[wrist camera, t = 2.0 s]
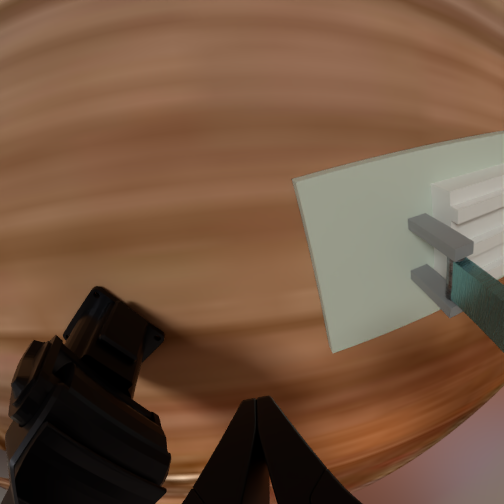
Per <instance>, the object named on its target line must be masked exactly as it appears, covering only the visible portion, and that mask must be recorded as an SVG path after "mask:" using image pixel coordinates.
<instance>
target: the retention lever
mask: <svg viewBox="0 0 504 504" xmlns="http://www.w3.org/2000/svg"><path fill="white" fill-rule="evenodd" d="M445 297H446V298H447V299H448V300H450V301H453V302H454V303H455V304H456V305H457V306H458V307H459V308H460V309H461V310H462V311H463V312H464V313H465V314H467V315H468V316H469V317H470V318H471V319H472V320H473V321H474V322H475V323H476V324H477V325H478V326H479V327H480V328H481V329H482V330H483V331H484V333H485V334H486V335H487V336H488V337H489V338H490V339H491V340H492V341H493V342H494V343H495V344H496V345H497V346H498V347H499V348H500V349H501V350H502V351H503V353H504V285H503V284H502V283H500V282H499V281H498V280H496V279H495V278H494V277H492V276H491V275H490V274H488V273H487V272H486V271H484V270H483V269H482V268H480V267H479V266H478V265H476V264H475V263H474V262H472V261H471V260H469V259H468V258H467V257H465V258H463V259H460V260H458V261H456V262H454V261H452V260H451V259H450V258H448V257H447V273H446V291H445Z"/></svg>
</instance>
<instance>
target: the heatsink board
mask: <svg viewBox="0 0 504 504" xmlns="http://www.w3.org/2000/svg"><path fill="white" fill-rule="evenodd" d="M292 182H293V186H294V189H295V193H296V197H297V201H298V205H299V209H300V213H301V217H302V221H303V226H304V230H305V234H306V238H307V242H308V247H309V251H310V255H311V260H312V264H313V269H314V273H315V278H316V283H317V287H318V292H319V297H320V302H321V306H322V311H323V316H324V321H325V327H326V332H327V337H328V342H329V346H330V349H331V351H332V353H335V352H338V351H341V350H344V349H347V348H349V347H352V346H355V345H357V344H360V343H363V342H365V341H368V340H371V339H373V338H376V337H378V336H381V335H383V334H386V333H388V332H391V331H393V330H395V329H398V328H400V327H403V326H405V325H407V324H410V323H412V322H414V321H416V320H419V319H421V318H423V317H425V316H428V315H430V314H432V313H434V312H436V311H438V310H440V309H441V310H442V311H443V312H444V313H445V314H446V315H447V316H448V317H449V318H451V317H453V316H455V315H457V314H459V313H461V312H463V311H462V310H461V309H460V308H459V307H458V306H457V305H456V304H455V303H454V302H453V301H450V300H448V299H447V298H446V297H445V291H446V273H447V257H448V258H450V259H451V260H452V261H454V262H456V261H458V260H460V259H463V258H465V257H467V258H468V259H469V260H471V261H472V262H474V263H475V264H476V265H478V266H479V267H480V268H482V269H483V270H484V271H486V272H487V273H488V274H490V275H491V276H492V277H494V278H495V279H496V280H498V279H500V278H502V277H504V131H499V132H493V133H487V134H481V135H476V136H470V137H465V138H460V139H455V140H450V141H445V142H440V143H435V144H430V145H426V146H421V147H416V148H412V149H407V150H403V151H399V152H394V153H390V154H386V155H382V156H377V157H373V158H369V159H365V160H361V161H357V162H353V163H349V164H345V165H342V166H338V167H334V168H330V169H327V170H323V171H319V172H315V173H312V174H308V175H305V176H301V177H298V178H294V179H292Z"/></svg>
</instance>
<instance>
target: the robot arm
mask: <svg viewBox="0 0 504 504" xmlns="http://www.w3.org/2000/svg"><path fill="white" fill-rule="evenodd" d="M95 292H97V293H99V295H97V294H96V293H95ZM68 335H69V336H68ZM156 336H160V337H156ZM63 337H64V339H65V340H66V343H65V345H64V344H63V343H62V342H63V341H62V340H61V339H60V338H59V337H58V336H57V335H55V336H54V337H53V338H52V339H51V340H50V341H47V342H46V343H45V342H40V341H36V340H34V341H33V342H32V343H31V344H30V345H29V347H28V348H27V350H26V352H25V353H24V355H23V356H22V358H21V360H20V362H19V364H18V366H17V369H16V371H15V374H14V377H13V380H12V383H11V387H12V392H11V398H10V405H9V413H8V415H9V417H10V418H11V419H13V421H12V423H11V425H10V427H9V429H8V430H7V432H6V435H5V442H6V454H7V464H8V472H9V480H10V486H9V488H8V491H7V493H6V495H5V497H4V498H3V501H2V502H1V504H155V503H156V502H157V501H158V500H159V499H160V498H161V497H162V496H163V495H164V494H165V493H166V491H167V490H166V488H164V487H162V484H163V483H164V481H165V479H166V477H167V475H168V471H169V468H170V463H171V454H170V453H168V451H167V442H166V436H165V434H164V432H163V430H162V427H161V423H160V419H159V416H158V415H157V414H155V413H154V412H150V411H148V410H147V409H145V408H144V407H142V406H141V405H140V404H138V403H137V402H135V401H134V400H133V396H134V392H135V387H136V383H137V379H138V375H139V371H140V366H141V363H142V362H143V361H144V360H145V359H146V358H147V357H148V356H149V355H150V354H151V353H152V352H153V351H154V350H155V349H156V348H157V347H158V346H159V345H160V344H161V343H162V342H163V341H164V338H165V334H164V332H162V331H161V330H160V329H158V328H157V327H155V326H154V325H152V324H151V323H149V322H148V321H147V320H145V319H144V318H143V317H141V316H140V315H138V314H137V313H135V312H134V311H133V310H131V309H130V308H128V307H127V306H126V305H124V304H123V303H122V302H120V301H118V300H117V299H115V298H114V297H113V296H111V295H110V294H109V293H107V292H106V291H105V290H103V289H102V288H101V287H98V286H96V287H94V288H93V289H92V290H91V292H90V293H89V295H88V296H87V298H86V299H85V301H84V302H83V304H82V305H81V307H80V308H79V310H78V311H77V313H76V314H75V316H74V317H73V319H72V321H71V322H70V324H69V325H68V327H67V329H66V330H65V332H64V334H63ZM269 475H270V479H271V482H272V486H273V490H274V493H275V497H276V500H277V504H362V503H361V502H360V501H359V500H357V499H356V498H355V497H354V496H353V495H352V494H351V493H350V492H349V491H348V490H346V488H345V487H344V486H343V485H342V484H341V483H340V482H339V481H338V480H337V479H336V478H335V477H334V475H333V474H332V473H331V472H330V471H329V469H327V467H326V466H325V465H324V464H323V463H322V461H321V460H320V459H319V458H318V456H317V455H316V454H315V453H314V452H313V450H312V449H311V448H310V447H309V445H308V444H307V443H306V442H305V440H304V439H303V438H302V436H301V435H300V434H299V433H298V431H297V430H296V429H295V427H294V426H293V425H292V424H291V422H290V421H289V420H288V418H287V417H286V416H285V414H284V413H283V412H282V410H281V409H280V408H279V406H278V405H277V404H276V402H275V401H274V400H273V398H272V397H271V396H269V395H268V396H263V397H258V398H257V400H256V399H255V398H252V399H247V400H243V401H242V402H241V404H240V406H239V408H238V410H237V412H236V413H235V415H234V417H233V419H232V421H231V422H230V424H229V426H228V428H227V430H226V431H225V433H224V435H223V437H222V438H221V440H220V442H219V444H218V445H217V447H216V449H215V451H214V452H213V454H212V456H211V458H210V459H209V461H208V463H207V464H206V466H205V468H204V469H203V471H202V473H201V474H200V476H199V478H198V479H197V481H196V483H195V484H194V486H193V488H194V489H191V490H190V492H189V494H188V495H187V497H186V498H185V500H184V501H183V503H182V504H270V492H269Z"/></svg>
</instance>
